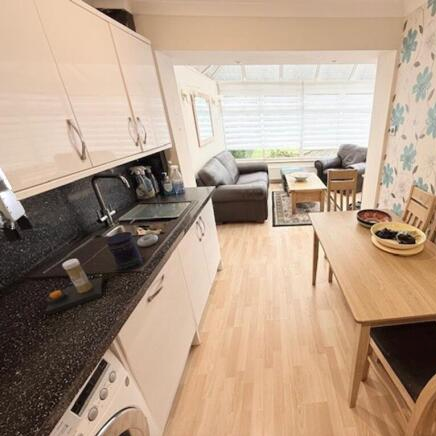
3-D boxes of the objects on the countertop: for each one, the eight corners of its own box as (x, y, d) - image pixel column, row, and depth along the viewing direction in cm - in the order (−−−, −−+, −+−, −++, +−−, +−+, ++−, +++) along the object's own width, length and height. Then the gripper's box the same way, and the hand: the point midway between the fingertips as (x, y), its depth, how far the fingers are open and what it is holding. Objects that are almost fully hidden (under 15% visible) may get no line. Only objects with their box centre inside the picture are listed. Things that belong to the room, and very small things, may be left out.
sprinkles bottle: (75, 294, 92) (58, 266, 86) (82, 286, 96) (66, 259, 91) (88, 292, 93) (72, 264, 87) (95, 284, 97) (80, 257, 91)
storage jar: (113, 270, 108) (99, 242, 102) (130, 258, 117) (118, 231, 110) (132, 271, 106) (119, 243, 100) (147, 259, 115) (137, 232, 108)
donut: (137, 242, 131) (138, 250, 123) (135, 237, 129) (136, 244, 122) (157, 236, 135) (159, 243, 128) (155, 231, 134) (157, 238, 126)
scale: (46, 316, 86) (41, 308, 84) (55, 296, 95) (50, 289, 94) (101, 296, 93) (97, 289, 91) (104, 280, 102) (101, 273, 101)
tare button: (50, 300, 89) (48, 297, 88) (52, 295, 91) (50, 292, 90) (60, 296, 90) (58, 293, 89) (62, 292, 92) (60, 289, 92)
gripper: (-10, 183, 81) (18, 228, 88) (-41, 197, 67) (-6, 248, 74) (20, 179, 84) (44, 222, 91) (-4, 191, 70) (27, 241, 78)
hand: (22, 234), depth 83 cm, fingers open, 9 cm apart
